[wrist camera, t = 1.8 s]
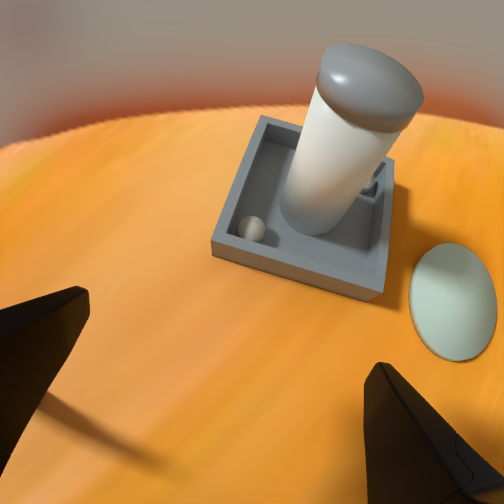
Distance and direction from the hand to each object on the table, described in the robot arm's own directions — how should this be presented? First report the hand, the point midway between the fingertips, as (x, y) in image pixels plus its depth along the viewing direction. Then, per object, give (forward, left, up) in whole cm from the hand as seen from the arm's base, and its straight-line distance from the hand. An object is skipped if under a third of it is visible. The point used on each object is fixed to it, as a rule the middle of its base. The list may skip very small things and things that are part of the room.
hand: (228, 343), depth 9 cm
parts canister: (+4, -13, -13) cm, 19 cm away
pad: (-12, -17, -14) cm, 25 cm away
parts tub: (+4, -13, -14) cm, 19 cm away
